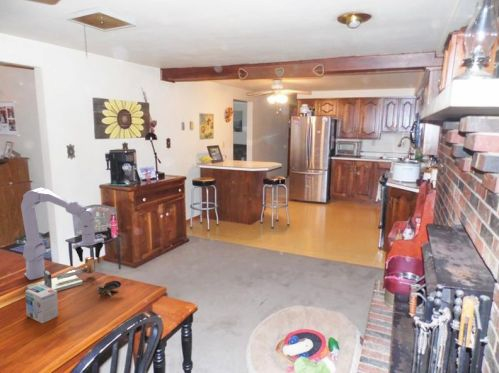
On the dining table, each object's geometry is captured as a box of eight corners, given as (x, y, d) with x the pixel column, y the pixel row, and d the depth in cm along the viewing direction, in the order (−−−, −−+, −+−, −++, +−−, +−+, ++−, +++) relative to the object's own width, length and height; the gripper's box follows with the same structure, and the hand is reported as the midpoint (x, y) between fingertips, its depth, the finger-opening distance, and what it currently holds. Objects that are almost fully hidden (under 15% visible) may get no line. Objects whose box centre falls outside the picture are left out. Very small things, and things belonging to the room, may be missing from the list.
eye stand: (27, 288, 155) (25, 272, 154) (73, 276, 170) (72, 261, 168) (34, 297, 147) (33, 281, 146) (82, 284, 162) (82, 269, 160)
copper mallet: (56, 279, 160) (55, 264, 159) (92, 269, 172) (91, 256, 171) (59, 281, 157) (58, 267, 156) (95, 272, 170) (95, 258, 168)
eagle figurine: (108, 299, 146) (124, 288, 153) (99, 285, 146) (116, 274, 153) (100, 303, 150) (116, 292, 158) (91, 289, 150) (108, 279, 158)
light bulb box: (26, 316, 133) (24, 290, 131) (43, 308, 139) (41, 283, 137) (42, 324, 128) (40, 297, 126) (59, 315, 134) (58, 290, 132)
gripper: (75, 237, 158) (77, 265, 160) (106, 232, 169) (107, 258, 171) (70, 234, 163) (71, 261, 165) (100, 229, 173) (101, 254, 176)
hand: (89, 259), depth 168 cm, fingers open, 7 cm apart
